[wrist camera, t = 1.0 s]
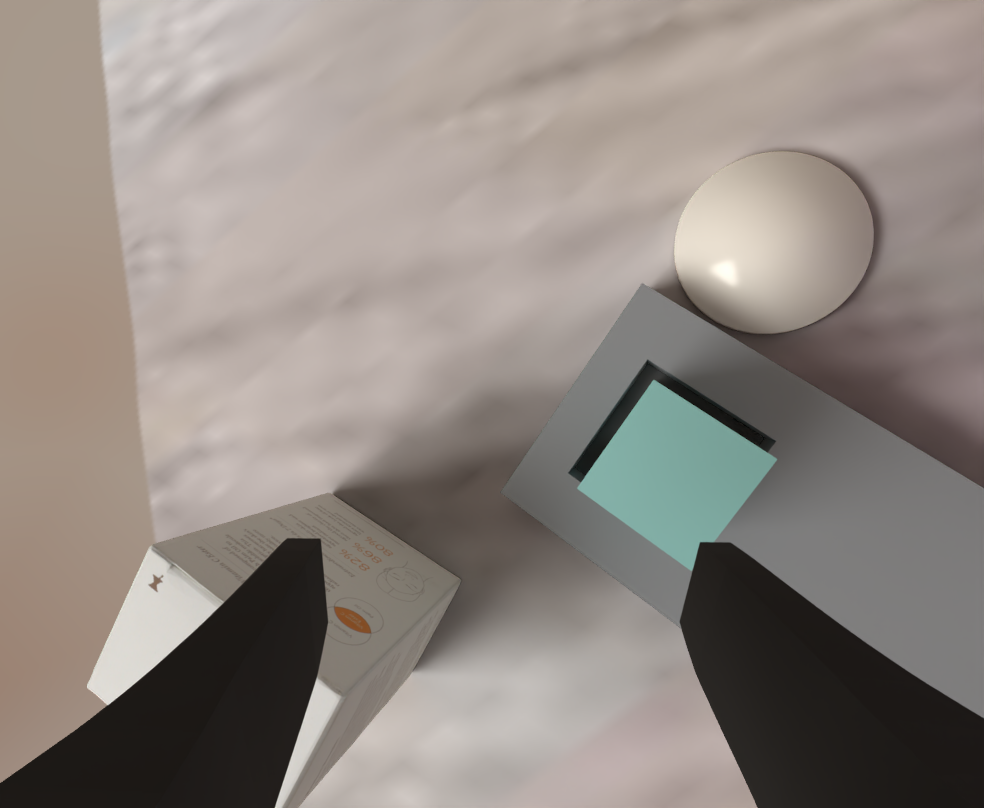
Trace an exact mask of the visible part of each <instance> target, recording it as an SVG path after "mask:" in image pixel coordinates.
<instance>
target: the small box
mask: <svg viewBox="0 0 984 808" xmlns="http://www.w3.org/2000/svg"><path fill="white" fill-rule="evenodd" d="M287 538H321V546H322V557H323V568H324V580H325V591H326V602H327V613H328V626H327V632H326V637H325V642H324V647H323V652H322V657H321V661H320V666H319V671H318V675H317V679H316V682H315V685H314V689H313V692H312V695H311V698H310V701H309V704H308V707H307V710H306V714H305V717H304V720H303V723H302V726H301V729H300V732H299V735H298V738H297V741H296V744H295V747H294V750H293V754H292V757H291V760H290V763H289V766H288V769H287V772H286V775H285V778H284V781H283V784H282V787H281V790H280V793H279V796H278V799H277V803H276V806H275V808H298V807H299V806H300V805H301V804H302V802H303V801H304V800H305V799H306V797H307V796H308V795H309V794H310V793H311V792H312V790H313V789H314V788H315V787H316V786H317V785H318V783H319V782H320V781H321V780H322V779H323V777H324V776H325V775H326V774H327V773H328V772H329V770H330V769H331V768H332V767H333V766H334V765H335V763H336V762H337V761H338V760H339V759H340V758H341V756H342V755H343V754H344V753H345V752H346V751H347V750H348V749H349V747H350V746H351V745H352V744H353V743H354V742H355V740H356V739H357V738H358V737H359V735H360V734H361V733H362V732H363V730H364V729H365V728H366V727H367V726H368V725H369V723H370V722H371V721H372V720H373V719H374V717H375V716H376V715H377V714H378V713H379V712H380V710H381V709H382V708H383V707H384V706H385V705H386V704H387V702H388V701H389V700H390V699H391V698H392V696H393V695H394V694H395V693H396V692H397V690H398V689H399V688H400V687H401V686H402V684H403V683H404V682H405V681H406V680H407V678H408V677H409V676H410V674H411V673H412V671H413V669H414V668H415V666H416V664H417V662H418V661H419V659H420V657H421V655H422V653H423V652H424V650H425V648H426V646H427V644H428V643H429V641H430V639H431V637H432V635H433V633H434V631H435V630H436V628H437V626H438V624H439V622H440V621H441V619H442V617H443V615H444V613H445V611H446V610H447V608H448V606H449V604H450V602H451V600H452V598H453V597H454V595H455V593H456V591H457V589H458V587H459V585H460V583H461V580H460V578H458V577H457V576H455V575H453V574H452V573H450V572H449V571H447V570H446V569H444V568H443V567H441V566H440V565H438V564H437V563H435V562H434V561H432V560H431V559H429V558H428V557H426V556H425V555H423V554H422V553H420V552H419V551H417V550H416V549H414V548H413V547H411V546H409V545H408V544H406V543H405V542H403V541H402V540H400V539H399V538H397V537H396V536H394V535H393V534H391V533H390V532H388V531H387V530H385V529H384V528H382V527H381V526H379V525H378V524H376V523H375V522H373V521H372V520H370V519H369V518H367V517H366V516H364V515H363V514H361V513H360V512H358V511H356V510H355V509H353V508H352V507H350V506H349V505H347V504H346V503H344V502H343V501H341V500H340V499H338V498H337V497H336V496H334V495H333V494H331V493H326V494H323V495H319V496H316V497H313V498H309V499H306V500H302V501H299V502H295V503H292V504H288V505H285V506H282V507H278V508H275V509H272V510H268V511H265V512H261V513H258V514H254V515H251V516H248V517H244V518H241V519H237V520H234V521H231V522H228V523H224V524H220V525H217V526H214V527H210V528H207V529H203V530H200V531H196V532H193V533H189V534H186V535H183V536H179V537H176V538H173V539H169V540H166V541H163V542H159V543H155V544H153V545H151V546H150V547H149V550H148V552H147V554H146V556H145V558H144V560H143V562H142V565H141V567H140V569H139V571H138V573H137V575H136V577H135V579H134V582H133V584H132V587H131V588H130V591H129V593H128V595H127V597H126V599H125V602H124V604H123V606H122V609H121V611H120V613H119V615H118V617H117V619H116V622H115V624H114V626H113V629H112V631H111V633H110V635H109V637H108V639H107V642H106V644H105V646H104V648H103V651H102V652H101V655H100V657H99V660H98V662H97V664H96V666H95V668H94V671H93V673H92V676H91V679H90V681H89V682H88V685H87V688H88V689H89V690H90V691H92V692H93V693H94V694H95V695H96V696H97V697H99V698H100V699H101V700H102V701H103V702H104V703H105V704H107V705H109V704H110V703H111V702H113V701H114V700H115V699H116V698H118V697H119V696H120V695H121V694H123V693H124V692H125V691H126V690H127V689H129V688H130V687H131V686H132V685H134V684H135V683H136V682H137V681H138V680H139V679H141V678H142V677H143V676H144V675H145V674H147V673H148V672H149V671H150V670H151V669H152V668H154V667H155V666H156V665H157V664H158V663H159V662H160V661H161V660H163V659H164V658H165V657H166V656H167V655H168V654H169V653H170V652H171V651H173V650H174V649H175V648H176V647H177V646H178V645H179V644H180V643H181V642H183V641H184V640H185V639H186V638H187V637H188V636H189V635H190V634H191V633H193V632H194V631H195V630H196V629H197V628H198V627H199V626H200V625H201V624H202V623H203V622H204V621H205V620H206V619H207V618H208V617H209V616H210V615H211V614H212V613H213V612H214V611H215V610H216V609H218V608H219V607H220V606H221V605H222V604H223V603H224V602H225V601H226V600H227V599H228V598H229V597H230V596H231V595H232V594H233V593H234V592H235V591H236V590H237V589H238V588H239V587H240V586H241V585H242V584H243V583H244V582H245V581H246V580H247V578H248V577H249V576H250V575H251V574H252V573H253V572H254V571H255V570H256V569H257V568H258V567H259V566H260V565H261V564H262V563H263V562H264V561H265V560H266V559H267V558H268V557H269V556H270V554H271V553H272V552H273V551H274V550H275V549H276V548H277V547H278V546H279V545H280V544H281V543H282V542H283V541H285V540H286V539H287Z"/></svg>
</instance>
